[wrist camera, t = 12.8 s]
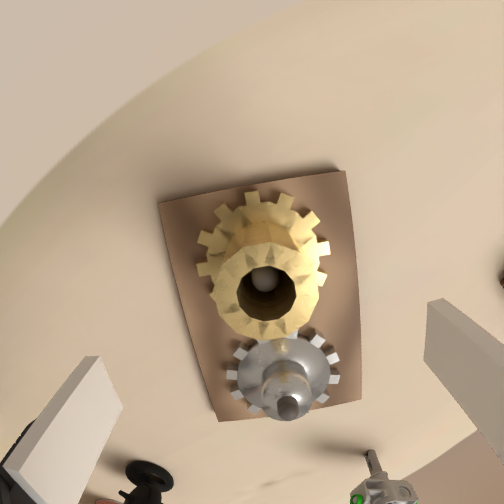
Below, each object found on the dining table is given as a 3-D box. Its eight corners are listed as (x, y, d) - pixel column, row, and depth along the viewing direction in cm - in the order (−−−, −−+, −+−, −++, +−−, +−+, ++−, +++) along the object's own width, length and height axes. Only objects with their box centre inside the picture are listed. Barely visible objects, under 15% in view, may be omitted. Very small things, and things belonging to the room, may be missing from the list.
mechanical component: (346, 441, 35) (363, 500, 25) (401, 450, 36) (423, 499, 26) (334, 455, 35) (348, 512, 26) (389, 462, 36) (408, 511, 27)
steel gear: (239, 416, 32) (237, 448, 27) (216, 332, 29) (210, 361, 24) (339, 400, 31) (349, 431, 26) (333, 313, 29) (347, 339, 24)
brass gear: (213, 323, 29) (198, 381, 20) (186, 203, 26) (153, 219, 18) (333, 303, 28) (361, 355, 20) (317, 180, 26) (347, 184, 17)
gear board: (219, 413, 33) (212, 467, 25) (162, 202, 28) (127, 214, 20) (358, 391, 33) (379, 441, 24) (340, 170, 27) (374, 170, 19)
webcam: (154, 491, 39) (141, 538, 29) (117, 467, 37) (98, 515, 28) (185, 480, 37) (174, 532, 27) (145, 454, 36) (126, 508, 26)
